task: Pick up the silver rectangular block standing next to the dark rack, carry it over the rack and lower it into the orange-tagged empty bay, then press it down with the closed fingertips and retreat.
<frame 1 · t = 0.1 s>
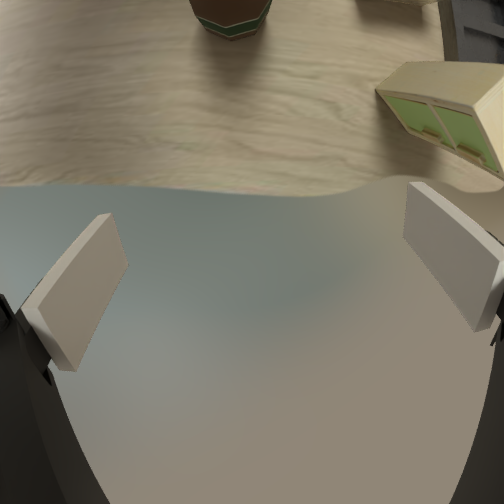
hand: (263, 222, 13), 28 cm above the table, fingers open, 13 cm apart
rack: (473, 8, 26), on the table
beer bottle: (234, 14, 30), on the table
toy refrigerator: (404, 98, 35), on the table
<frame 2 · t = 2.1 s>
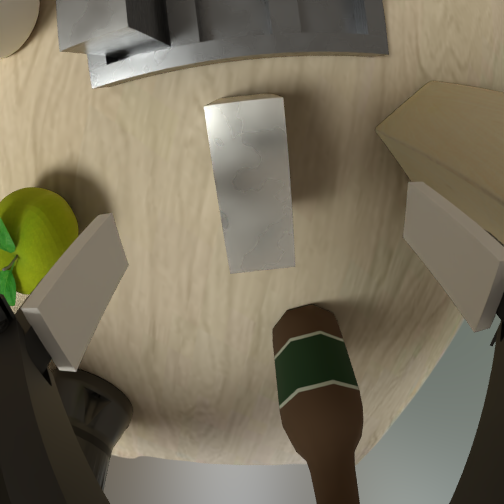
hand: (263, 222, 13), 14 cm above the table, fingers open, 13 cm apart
beer bottle: (304, 327, 36), on the table
potion bottle: (13, 21, 17), on the table
silver rectangular block: (250, 153, 26), on the table
fruit: (58, 217, 28), on the table
toy refrigerator: (422, 134, 25), on the table
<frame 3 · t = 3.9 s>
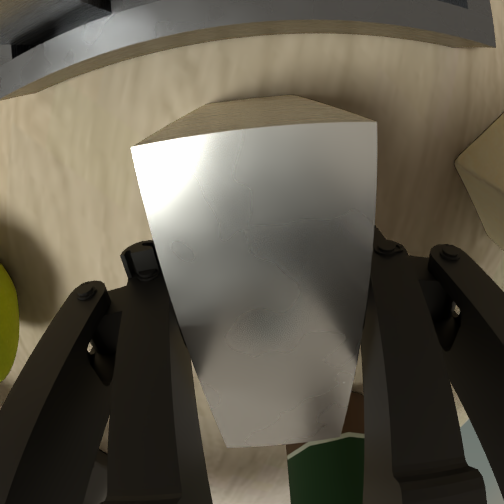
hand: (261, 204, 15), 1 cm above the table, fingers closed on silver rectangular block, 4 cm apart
beer bottle: (325, 408, 26), on the table
silver rectangular block: (260, 199, 16), on the table, touching gripper
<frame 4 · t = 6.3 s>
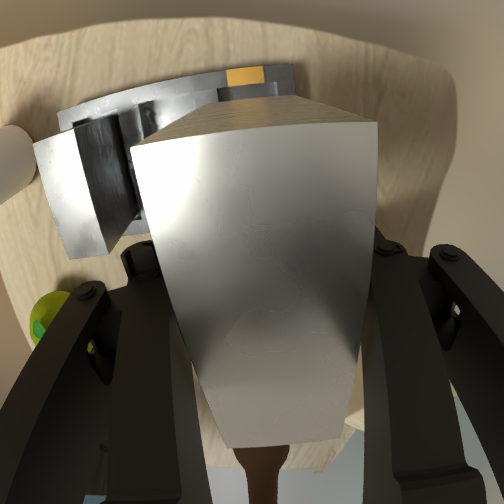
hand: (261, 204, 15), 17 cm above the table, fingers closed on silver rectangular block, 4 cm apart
rack: (182, 149, 30), on the table
beer bottle: (258, 377, 47), on the table
potion bottle: (16, 156, 29), on the table
silver rectangular block: (260, 199, 16), point 16 cm above the table, touching gripper
fruit: (76, 304, 40), on the table
toy refrigerator: (343, 253, 37), on the table
when the fingers open (5 cm above the table, at t = 8.8 s): silver rectangular block drops 3 cm, resting on rack.
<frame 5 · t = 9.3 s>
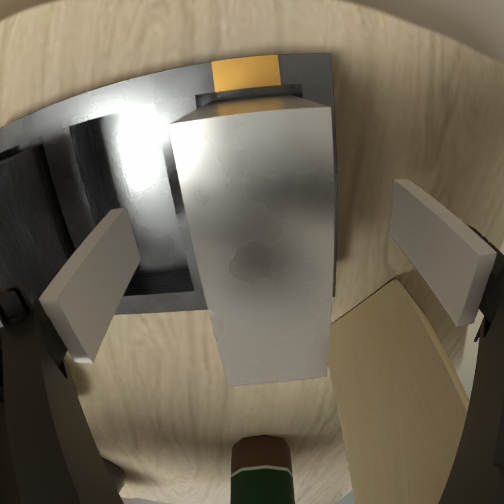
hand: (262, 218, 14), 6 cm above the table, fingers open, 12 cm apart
rack: (148, 190, 20), on the table
beer bottle: (261, 445, 37), on the table
silver rectangular block: (258, 181, 18), point 1 cm above the table, touching rack
toy refrigerator: (376, 325, 26), on the table
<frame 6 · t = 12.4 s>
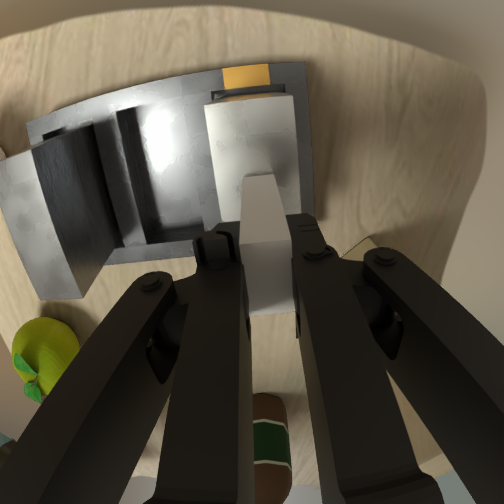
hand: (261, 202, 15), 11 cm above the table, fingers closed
rack: (171, 163, 25), on the table
beer bottle: (259, 405, 43), on the table
silver rectangular block: (255, 155, 24), point 1 cm above the table, touching gripper, rack
fruit: (62, 329, 35), on the table
toy refrigerator: (356, 280, 32), on the table
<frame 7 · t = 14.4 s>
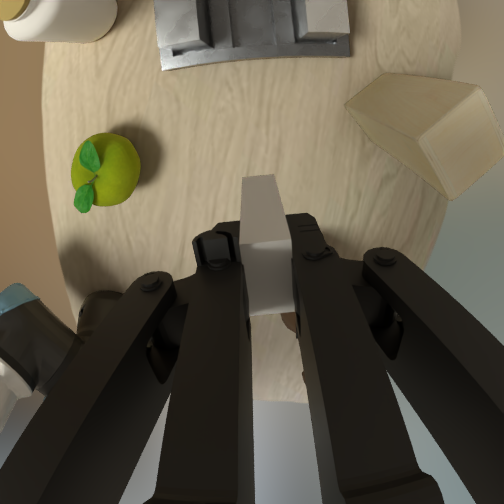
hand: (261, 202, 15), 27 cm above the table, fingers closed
rack: (250, 9, 31), on the table
potion bottle: (93, 17, 30), on the table
silver rectangular block: (308, 6, 30), point 1 cm above the table, touching rack
fruit: (120, 159, 41), on the table
toy refrigerator: (379, 109, 37), on the table
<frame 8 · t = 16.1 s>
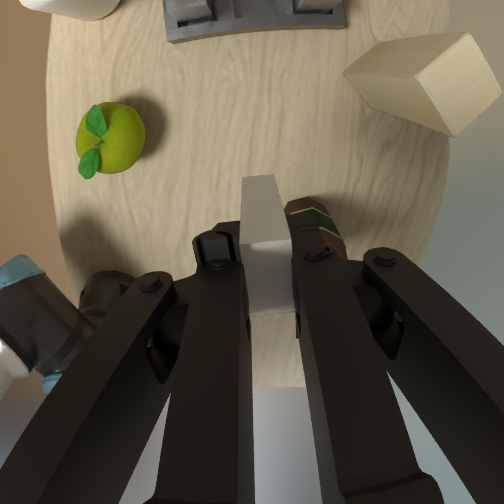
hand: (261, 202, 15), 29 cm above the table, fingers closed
beer bottle: (302, 219, 48), on the table
fruit: (124, 131, 41), on the table
toy refrigerator: (376, 77, 37), on the table
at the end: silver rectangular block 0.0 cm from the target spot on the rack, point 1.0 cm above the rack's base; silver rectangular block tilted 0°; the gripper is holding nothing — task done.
